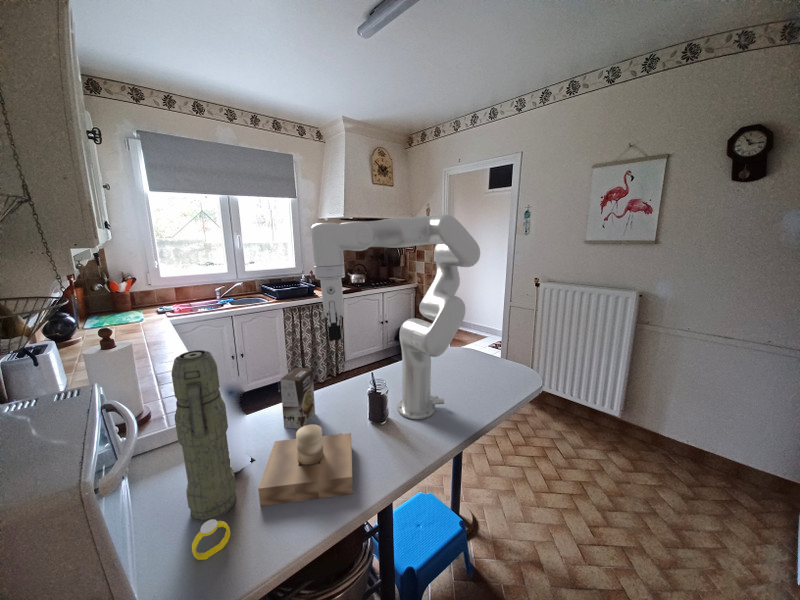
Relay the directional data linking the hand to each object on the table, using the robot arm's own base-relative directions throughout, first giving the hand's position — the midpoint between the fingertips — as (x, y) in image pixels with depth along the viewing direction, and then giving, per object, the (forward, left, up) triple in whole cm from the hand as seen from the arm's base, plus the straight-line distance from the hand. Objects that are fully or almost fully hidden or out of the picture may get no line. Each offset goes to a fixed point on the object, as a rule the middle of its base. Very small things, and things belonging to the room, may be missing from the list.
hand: (335, 339), depth 84 cm
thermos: (+27, +19, -31) cm, 45 cm away
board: (+7, +13, -30) cm, 34 cm away
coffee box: (+13, -11, -31) cm, 35 cm away
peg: (+7, +13, -30) cm, 33 cm away
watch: (+23, +30, -31) cm, 48 cm away
